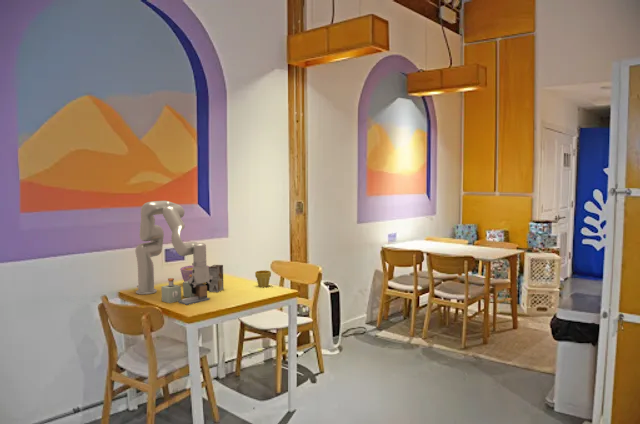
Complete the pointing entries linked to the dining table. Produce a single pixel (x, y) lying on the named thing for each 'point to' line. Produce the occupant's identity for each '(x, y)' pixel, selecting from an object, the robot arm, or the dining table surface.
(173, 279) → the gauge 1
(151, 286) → the robot arm
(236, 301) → the dining table surface
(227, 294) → the dining table surface
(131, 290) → the dining table surface
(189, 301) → the rail board
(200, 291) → the brown upright block
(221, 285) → the coffee box
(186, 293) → the cabinet
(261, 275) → the plant pot
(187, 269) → the bowl of food
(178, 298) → the cabinet
